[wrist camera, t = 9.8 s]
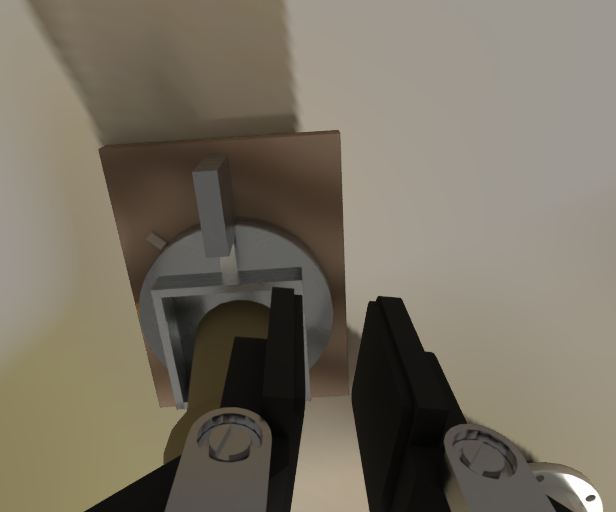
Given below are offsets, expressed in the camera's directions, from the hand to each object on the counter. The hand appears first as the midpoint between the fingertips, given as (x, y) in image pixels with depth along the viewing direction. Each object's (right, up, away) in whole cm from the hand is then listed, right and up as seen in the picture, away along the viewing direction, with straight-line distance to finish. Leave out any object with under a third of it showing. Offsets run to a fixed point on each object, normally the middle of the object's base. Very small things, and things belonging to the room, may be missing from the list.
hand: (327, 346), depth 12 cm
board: (-5, +1, +20) cm, 21 cm away
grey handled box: (-5, +1, +19) cm, 19 cm away
